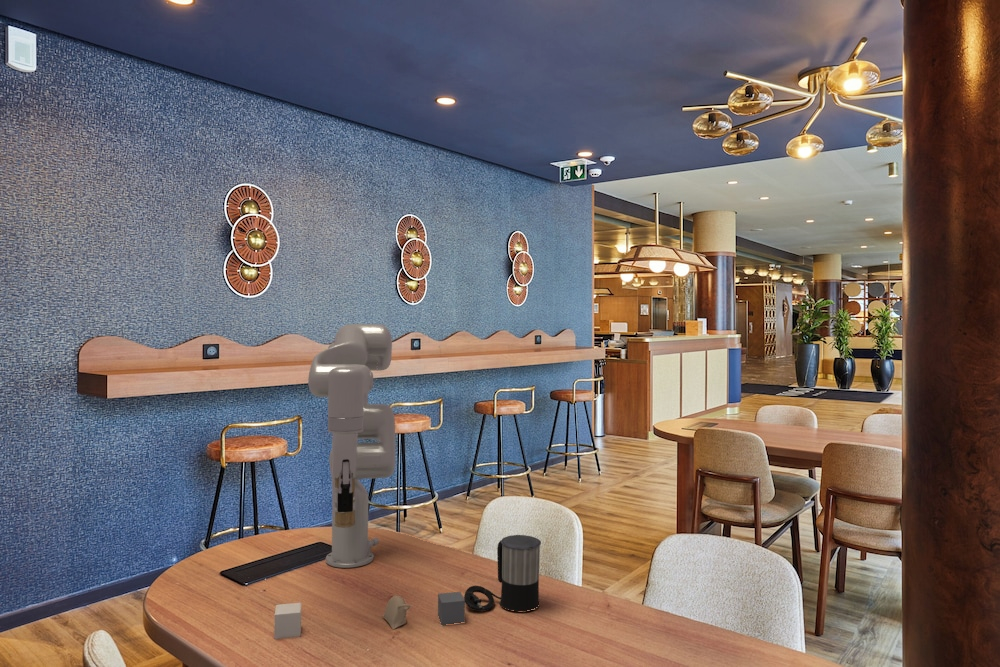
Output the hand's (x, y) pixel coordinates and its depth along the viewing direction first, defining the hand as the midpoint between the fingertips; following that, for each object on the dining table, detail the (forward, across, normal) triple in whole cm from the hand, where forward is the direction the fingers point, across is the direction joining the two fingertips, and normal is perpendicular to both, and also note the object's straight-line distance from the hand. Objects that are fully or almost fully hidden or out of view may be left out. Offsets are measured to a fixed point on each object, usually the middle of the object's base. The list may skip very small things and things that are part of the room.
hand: (344, 507), depth 145 cm
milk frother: (+24, +2, +35) cm, 43 cm away
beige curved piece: (+24, +5, +11) cm, 27 cm away
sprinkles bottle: (+4, 0, 0) cm, 4 cm away
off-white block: (+24, +4, -11) cm, 27 cm away
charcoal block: (+24, +6, +23) cm, 34 cm away
